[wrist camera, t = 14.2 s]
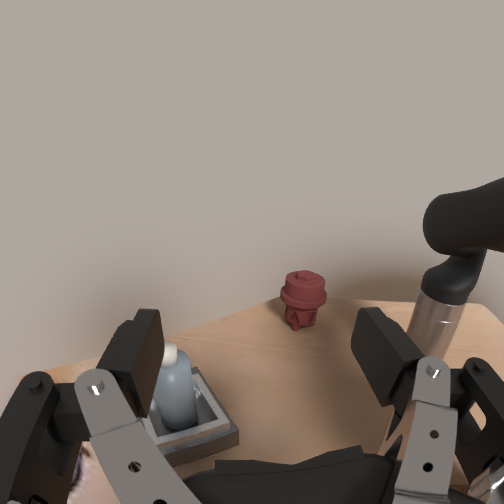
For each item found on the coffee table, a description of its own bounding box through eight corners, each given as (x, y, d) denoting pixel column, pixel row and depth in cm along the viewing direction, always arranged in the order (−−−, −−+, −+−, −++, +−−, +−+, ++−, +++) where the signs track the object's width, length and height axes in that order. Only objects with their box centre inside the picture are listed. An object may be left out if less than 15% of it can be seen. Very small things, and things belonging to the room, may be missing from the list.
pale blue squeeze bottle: (189, 398, 34) (179, 331, 30) (203, 423, 30) (195, 355, 26) (156, 407, 32) (138, 340, 28) (167, 433, 28) (149, 367, 24)
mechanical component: (293, 341, 55) (269, 317, 63) (330, 328, 59) (304, 308, 67) (300, 288, 51) (273, 268, 59) (339, 278, 55) (310, 262, 63)
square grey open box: (197, 381, 42) (194, 355, 40) (238, 444, 31) (238, 421, 29) (130, 398, 37) (121, 372, 35) (156, 470, 25) (145, 450, 23)
